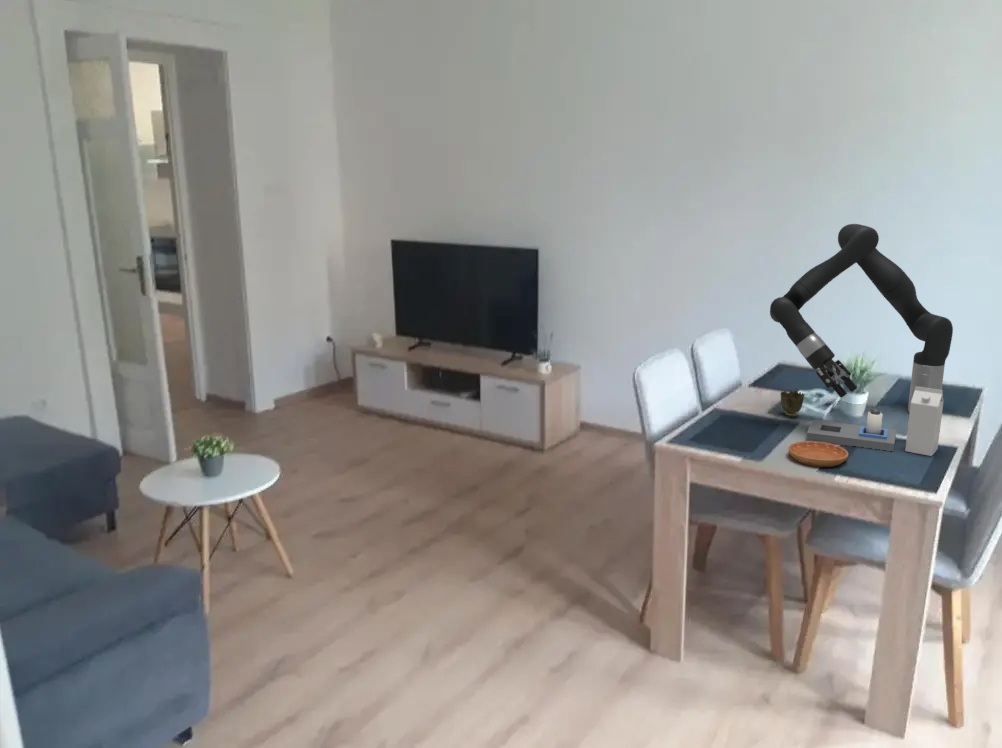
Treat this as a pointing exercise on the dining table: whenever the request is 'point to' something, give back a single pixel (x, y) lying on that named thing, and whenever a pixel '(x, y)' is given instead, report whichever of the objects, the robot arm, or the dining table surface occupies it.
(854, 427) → the block with square holes
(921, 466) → the dining table surface
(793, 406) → the cup
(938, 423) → the milk carton
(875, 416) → the capped white bottle
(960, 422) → the dining table surface
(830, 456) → the saucer
